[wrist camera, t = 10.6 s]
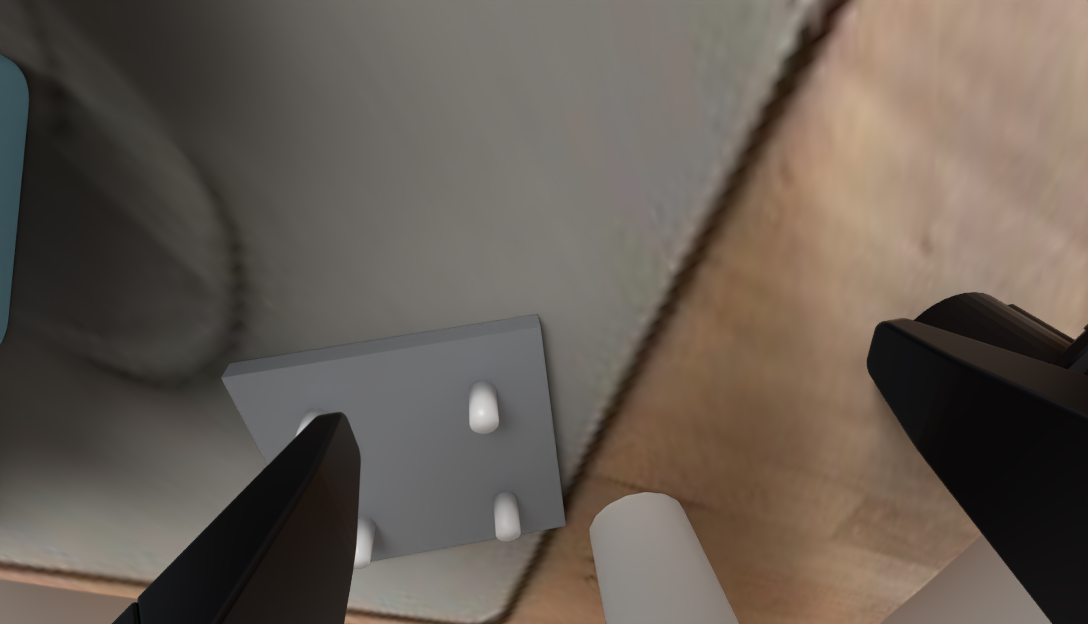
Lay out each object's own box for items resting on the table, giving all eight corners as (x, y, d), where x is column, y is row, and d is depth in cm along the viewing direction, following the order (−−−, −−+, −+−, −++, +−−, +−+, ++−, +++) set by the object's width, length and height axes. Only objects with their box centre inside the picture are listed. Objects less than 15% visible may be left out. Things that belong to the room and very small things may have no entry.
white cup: (652, 569, 35) (716, 761, 26) (561, 550, 32) (598, 753, 24) (714, 501, 32) (807, 690, 23) (619, 475, 30) (683, 673, 21)
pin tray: (537, 314, 24) (547, 354, 21) (562, 510, 30) (572, 559, 28) (229, 363, 23) (201, 411, 20) (327, 553, 30) (314, 607, 27)
